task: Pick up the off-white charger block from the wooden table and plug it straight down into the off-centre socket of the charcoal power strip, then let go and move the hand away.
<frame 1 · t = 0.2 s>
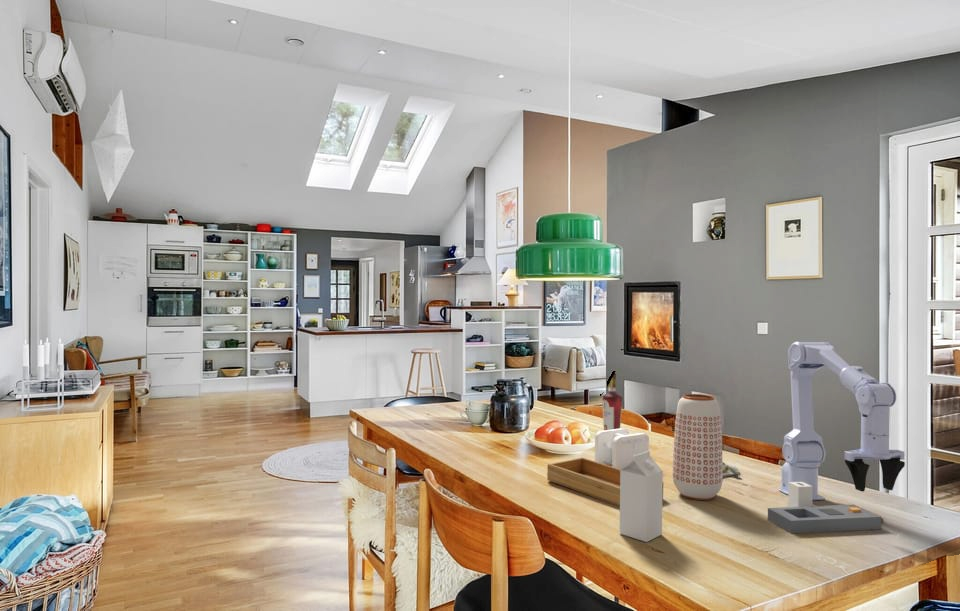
hand: (873, 489, 146), 10 cm above the table, tool pointing down, fingers open, 7 cm apart
charger: (800, 510, 160), on the table
patterned ceramic vase: (697, 496, 172), on the table
liquor: (611, 447, 230), on the table
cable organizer: (621, 467, 201), on the table
tray: (602, 492, 176), on the table
milk carton: (640, 535, 142), on the table
salad plate: (707, 471, 199), on the table
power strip: (823, 524, 150), on the table
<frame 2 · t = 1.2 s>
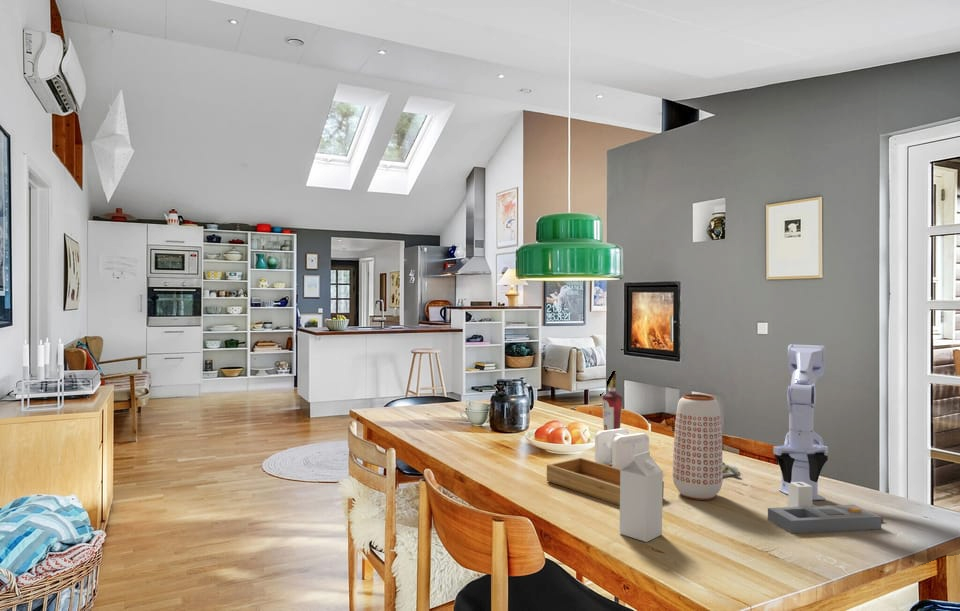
hand: (800, 481, 160), 8 cm above the table, tool pointing down, fingers open, 7 cm apart
nothing on the table moved.
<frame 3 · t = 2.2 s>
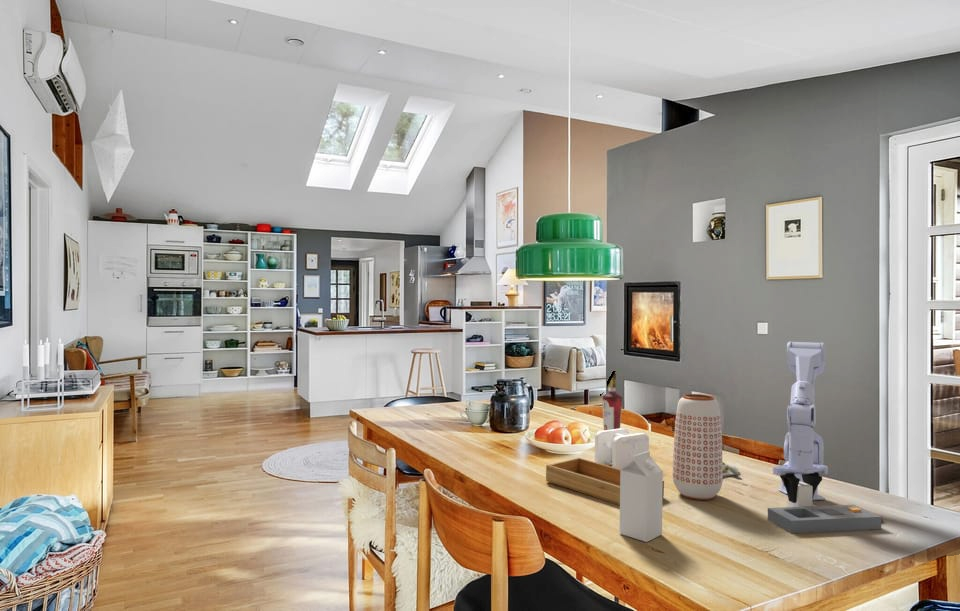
hand: (800, 501, 160), 2 cm above the table, tool pointing down, fingers closed on charger, 4 cm apart
charger: (800, 510, 160), on the table, touching gripper
everything else where it was.
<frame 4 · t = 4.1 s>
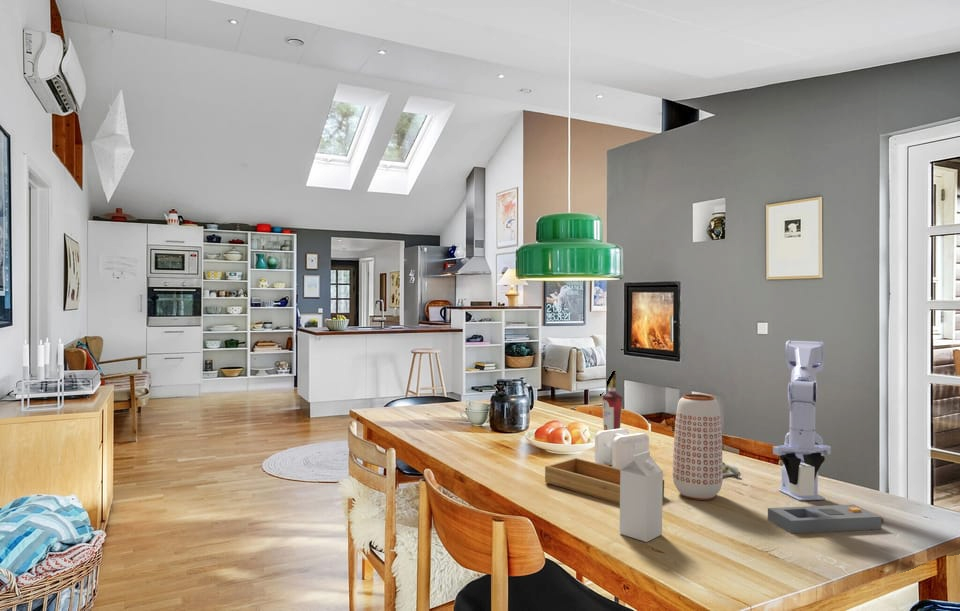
hand: (801, 483, 152), 10 cm above the table, tool pointing down, fingers closed on charger, 4 cm apart
charger: (801, 493, 152), point 7 cm above the table, touching gripper
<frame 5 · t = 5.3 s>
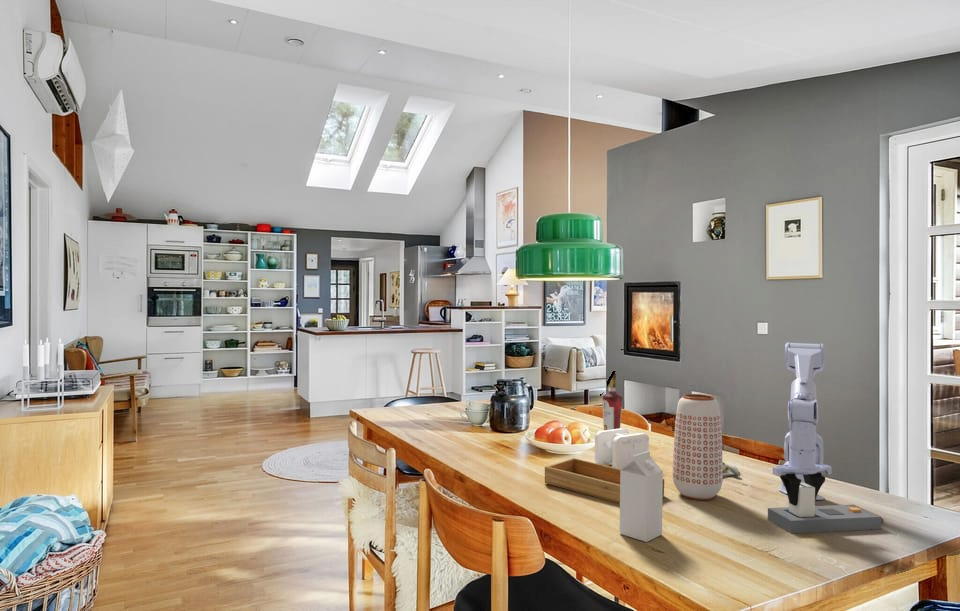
hand: (801, 503, 149), 5 cm above the table, tool pointing down, fingers closed on charger, 4 cm apart
charger: (801, 513, 149), point 3 cm above the table, touching gripper
when the fingers open (4 cm above the table, at t = 6.1 s): charger stays where it is, resting on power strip.
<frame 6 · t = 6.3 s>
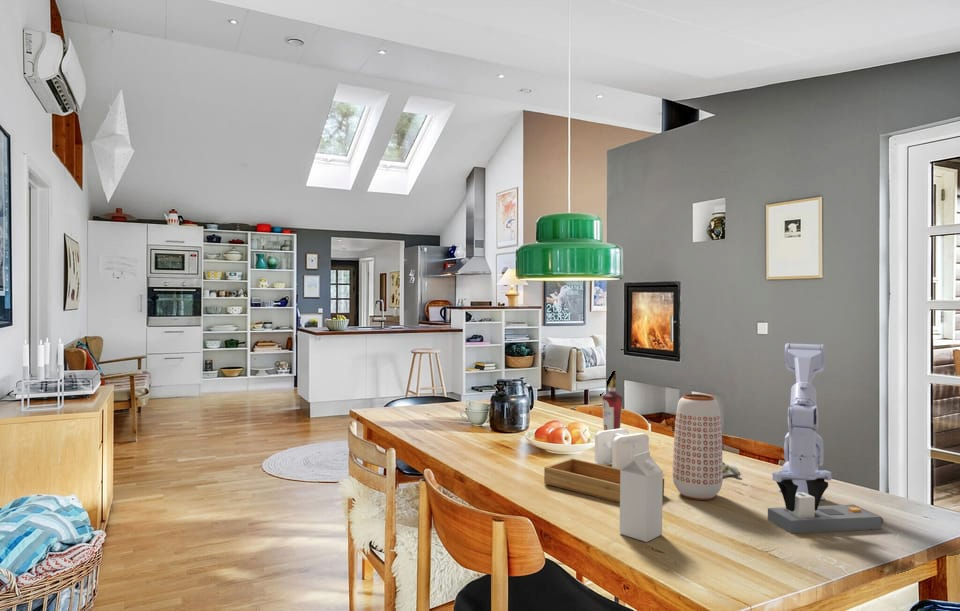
hand: (801, 509, 149), 4 cm above the table, tool pointing down, fingers open, 6 cm apart
charger: (801, 523, 149), resting on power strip
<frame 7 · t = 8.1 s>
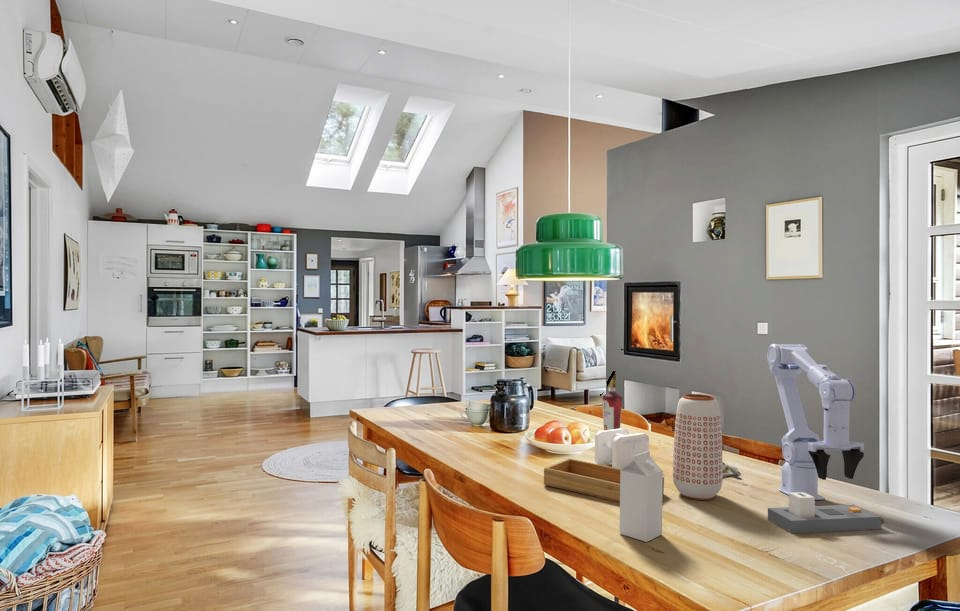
hand: (835, 478, 157), 9 cm above the table, tool pointing down, fingers open, 7 cm apart
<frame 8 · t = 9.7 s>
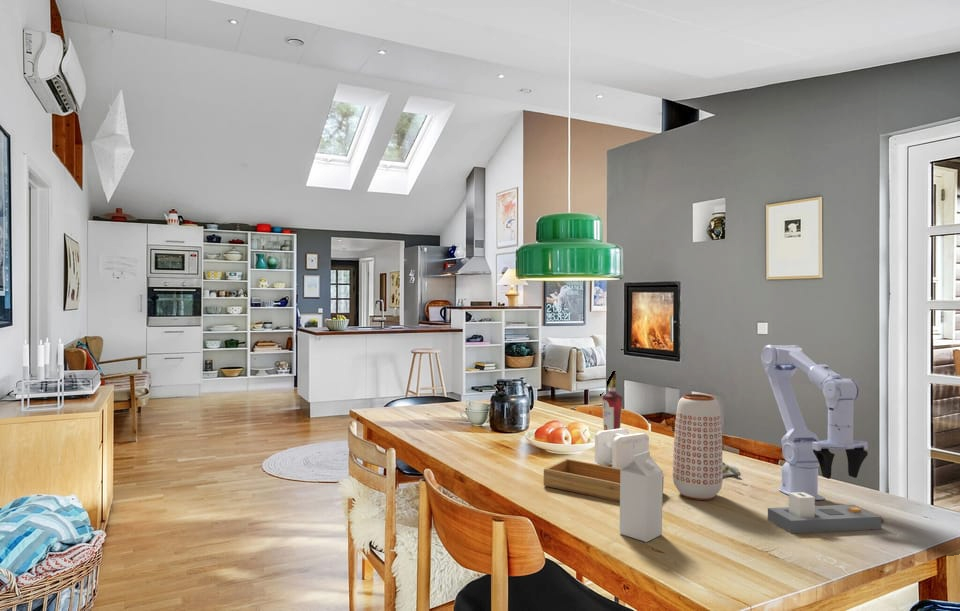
hand: (839, 477, 158), 9 cm above the table, tool pointing down, fingers open, 7 cm apart
at the end: charger 0.0 cm from the target spot on the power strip, point 0.5 cm above the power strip's base; charger tilted 0°; the gripper is holding nothing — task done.
